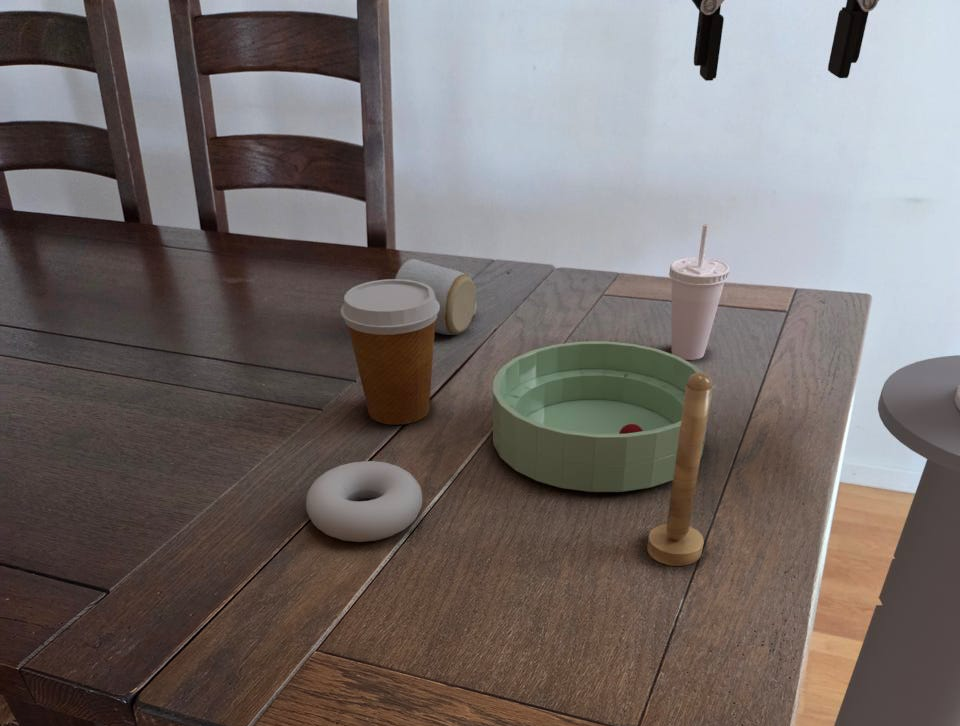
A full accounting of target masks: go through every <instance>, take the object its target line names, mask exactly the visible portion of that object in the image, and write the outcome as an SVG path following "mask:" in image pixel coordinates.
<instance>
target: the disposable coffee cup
mask: <svg viewBox="0 0 960 726" xmlns="http://www.w3.org/2000/svg"><path fill="white" fill-rule="evenodd" d="M439 310H440V304H439V302H438V301H437V300H436V298H435V294H434V291H433V289H432V288H431V287H429V286H428V285H426V284H423V283H421V282H416V281H412V280H402V279H395V278H392V279H391V278H388V279H379V280H377V279H376V280H372V281H367V282H364V283H361V284H358V285H355V286H353V287H351V288H350V289H348V290H347V291H346V292H345V294H344V296H343V305H341V308H340V314H341V317H342V319H344V323H345V324H346V325H347V328H348V333H349V337H350V341H351V345H352V350H353V353H354V358H355V362H356V365H357V369H358V374H359V378H360V381H361V382H360V383H361V386H362V391H363V395H364V398H365V402H366V406H367V411H368V415H369V417H370V418H371V419H372V420H373V421H375V422H377V423H381V424H383V425H384V424H385V425H391V426H393V425H395V426H397V425H407V424H413V423H415V422H418V421H421V420H423V419H424V418H425V417H426V416H427V415H428V414H429V413H430V401H431V387H432V375H433V373H432V372H433V359H434V346H435V333H436V332H435V320H436V318H437V314H438V312H439Z"/></svg>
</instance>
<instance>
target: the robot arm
mask: <svg viewBox="0 0 960 726" xmlns="http://www.w3.org/2000/svg"><path fill="white" fill-rule="evenodd" d="M691 1H692V3H693V4H694V6H695V8H696V9H697V10H698V18H697V26H696V36H695V44H694V52H693V65H694V66H695V67H699V76H700V77H701V78H702V79H703V80H704V81H707V82H708V81H710V82H711V81H714V79H716V78H717V74H718V66H719V59H720V51H721V45H722V36H723V30H724V29H723V28H724V20H725V19H724V15H722V14H721V8H722V4H723V3H724V2H725V0H691ZM879 1H880V0H846V3H845V6H843V7H841V9H840V10H839V11H838V15H837V20H836V24H835V25H836V26H835V30H834V35H833V41H832V45H831V50H830V55H829V60H828V64H827V71H828V72H829V73H830V74H832V75H833V76H835V77H837V78H838V79H848V78H849V76H850V72H851V68H852V64H856V63H858V60H859V57H860V54H861V49H862V44H863V40H864V36H865V31H866V26H867V21H868V17H869V12H871V11H873V10H874V9H875V8H876V7H877V5H878V3H879ZM954 401H955V404H956V406H957V408H958V409H959V410H960V385H959V386H958V389H957V391H956V394H955V398H954Z"/></svg>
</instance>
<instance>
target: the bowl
mask: <svg viewBox="0 0 960 726" xmlns="http://www.w3.org/2000/svg"><path fill="white" fill-rule="evenodd" d="M698 372H703V371H702V370H701V369H700V368H699V367H698V366H696V365H694V364H693V363H691V362H690V361H689V360H685V359H682V358H681V357H678V356H676V355H673V354H672V353H670V352H667V351H664V350H661V349H659V348H655V347H649V346H645V345H640V344H636V343H628V342H618V341H606V340H604V341H603V340H602V341H601V340H600V341H596V340H595V341H594V340H593V341H574V342H567V343H557V344H552V345H548V346H544V347H540V348H539V347H538V348H536V349H533V350H530V351H528V352H525V353H523V354H520V355H518V356H516V357H514V358H512V359H511V360H509V362H507V363H506V364H504V365H503V366H502V367H500V369H499V370H498V371H497V373H496V375H495V376H494V378H493V380H492V444H493V446H494V448H495V450H496V452H497V454H498V456H499V457H500V459H501V460H502V461H504V462H505V463H506V464H507V465H509V467H511V468H512V469H513V470H515V471H516V472H517V473H520V474H522V475H524V476H526V477H528V478H530V479H532V480H533V481H535V482H539V483H543V484H546V485H549V486H553V487H556V488H559V489H566V490H573V491H580V492H581V491H582V492H588V493H624V492H631V491H636V490H643V489H650V488H654V487H656V486H660V485H662V484H665V483H668V482H671V481H672V482H673V476H674V469H675V462H676V455H677V448H678V441H679V433H680V426H681V419H682V412H683V405H684V398H685V391H686V384H687V381H688V379H689V377H690V376H691V375H693V374H694V373H698ZM713 396H714V389H713V388H712V390H711V397H710V403H709V409H708V415H707V421H706V428H705V434H704V440H703V446H702V452H701V458H702V457H703V453H704V449H705V444H706V438H707V433H708V425H709V419H710V415H711V414H710V413H711V408H712V401H713ZM628 424H635V425H638V426H639V427H640V428H641V429H642V430H643V431H642V432H634V433H627V434H619V432H620V430H621V429H622V428H623V427H624V426H626V425H628Z"/></svg>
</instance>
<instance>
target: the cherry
mask: <svg viewBox="0 0 960 726" xmlns="http://www.w3.org/2000/svg"><path fill="white" fill-rule="evenodd" d="M642 431H643V430H642V429H641V428H640V427H639V426H638V425H635V424H628V425H626V426H624V427H623V428H622V429H621V430H620V432H619V434H627V433H634V432H642Z"/></svg>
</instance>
